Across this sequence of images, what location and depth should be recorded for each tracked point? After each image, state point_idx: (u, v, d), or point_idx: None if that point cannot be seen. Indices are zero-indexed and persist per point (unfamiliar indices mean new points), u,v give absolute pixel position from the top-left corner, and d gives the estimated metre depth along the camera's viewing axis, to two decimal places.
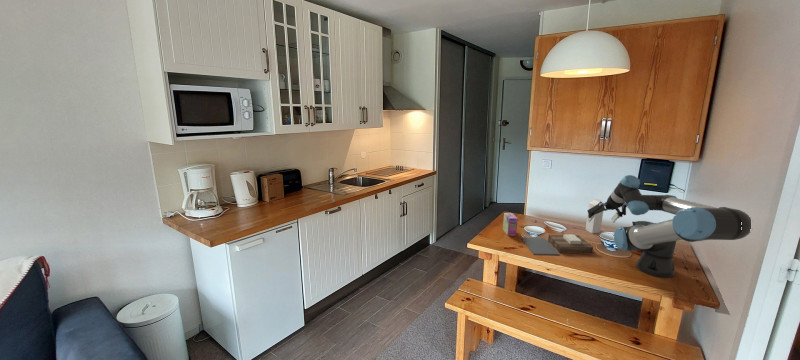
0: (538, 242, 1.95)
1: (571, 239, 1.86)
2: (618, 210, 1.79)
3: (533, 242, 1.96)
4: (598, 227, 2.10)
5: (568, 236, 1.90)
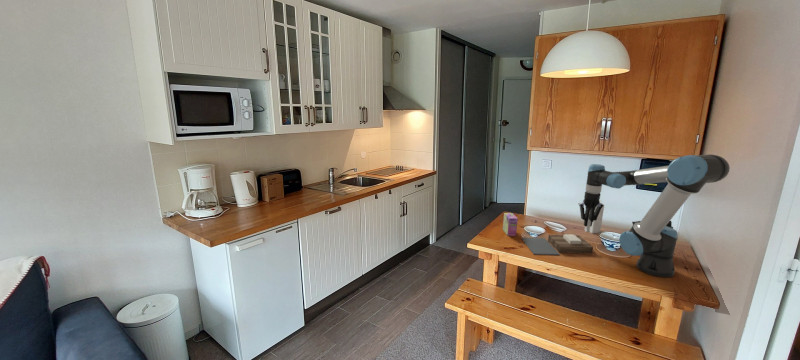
0: (538, 242, 1.95)
1: (571, 239, 1.86)
2: (594, 209, 1.83)
3: (533, 242, 1.96)
4: (598, 227, 2.10)
5: (568, 236, 1.90)
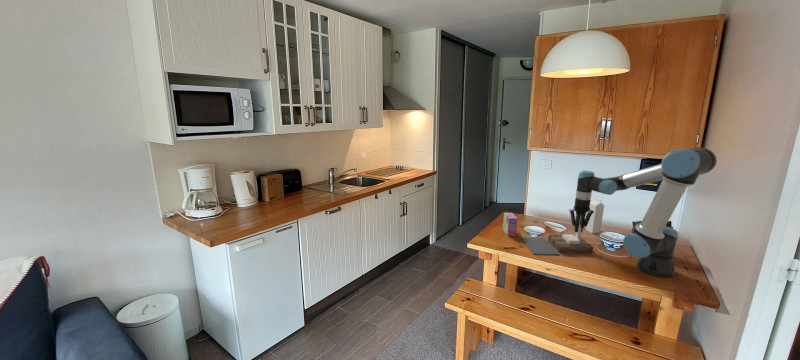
0: (538, 242, 1.95)
1: (570, 239, 1.86)
2: (585, 215, 1.84)
3: (533, 242, 1.96)
4: (598, 227, 2.10)
5: (567, 236, 1.90)
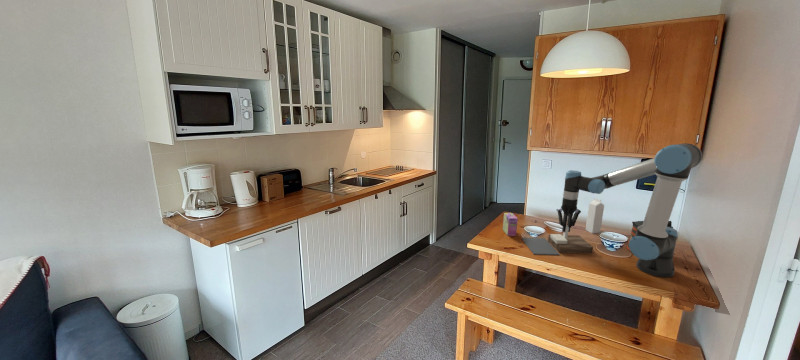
0: (538, 242, 1.95)
1: (557, 239, 1.86)
2: (572, 215, 1.84)
3: (533, 242, 1.96)
4: (598, 227, 2.10)
5: (555, 236, 1.90)
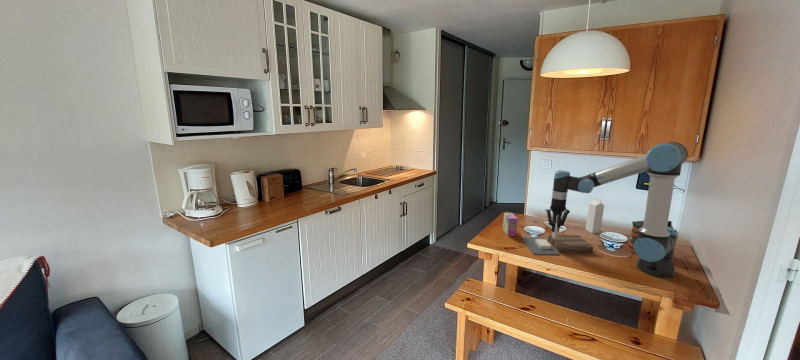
0: None
1: None
2: (561, 215, 1.84)
3: (533, 242, 1.96)
4: (598, 227, 2.10)
5: None
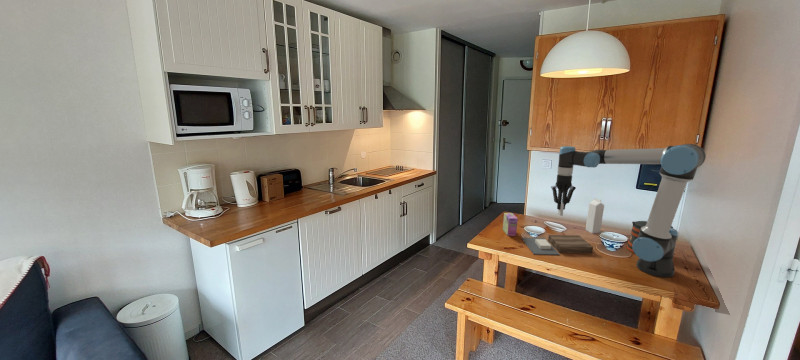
0: None
1: None
2: (567, 192, 1.81)
3: (533, 242, 1.96)
4: (598, 227, 2.10)
5: None
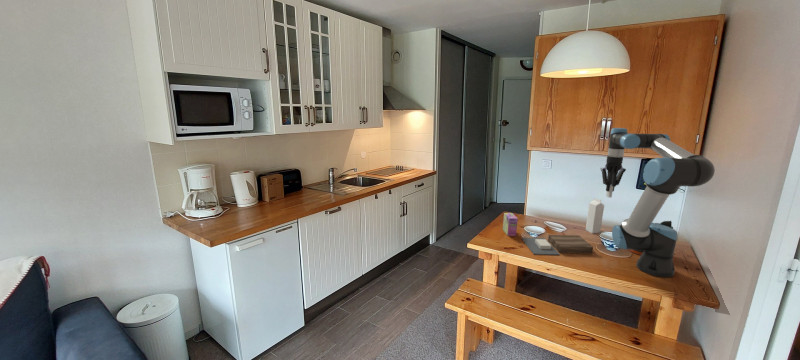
0: None
1: None
2: None
3: (533, 242, 1.96)
4: (598, 227, 2.10)
5: None
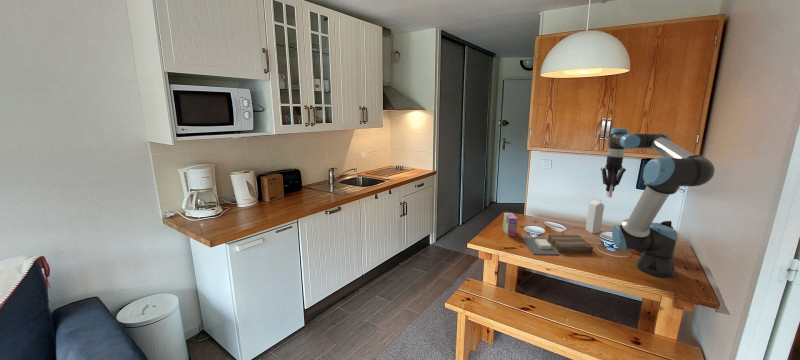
0: None
1: None
2: (617, 173, 1.82)
3: (533, 242, 1.96)
4: (598, 227, 2.10)
5: None
